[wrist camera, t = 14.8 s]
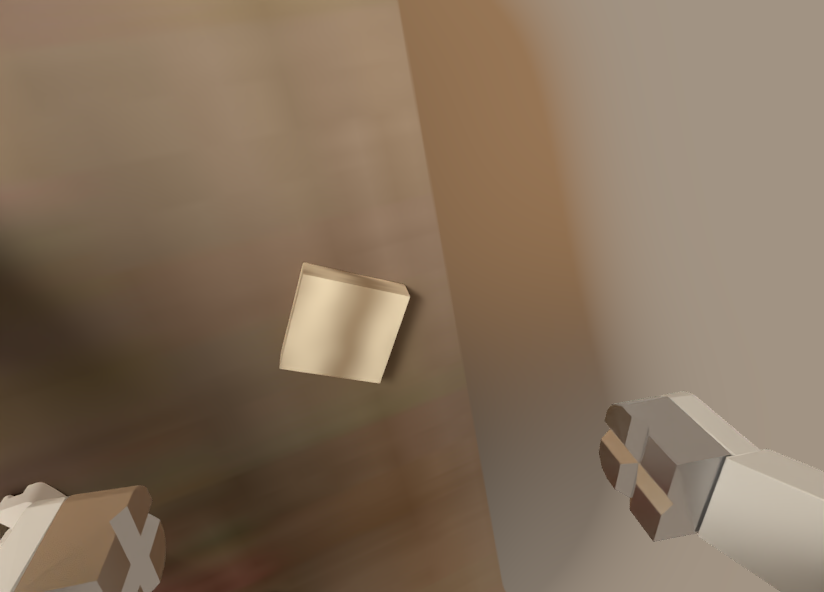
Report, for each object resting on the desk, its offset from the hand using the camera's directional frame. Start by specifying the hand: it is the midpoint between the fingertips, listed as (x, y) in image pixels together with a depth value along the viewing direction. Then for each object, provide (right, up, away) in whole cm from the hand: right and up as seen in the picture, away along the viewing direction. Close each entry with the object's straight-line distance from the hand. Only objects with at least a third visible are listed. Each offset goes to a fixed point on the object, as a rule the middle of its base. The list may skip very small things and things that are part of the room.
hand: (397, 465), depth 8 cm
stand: (-6, +1, +34) cm, 34 cm away
